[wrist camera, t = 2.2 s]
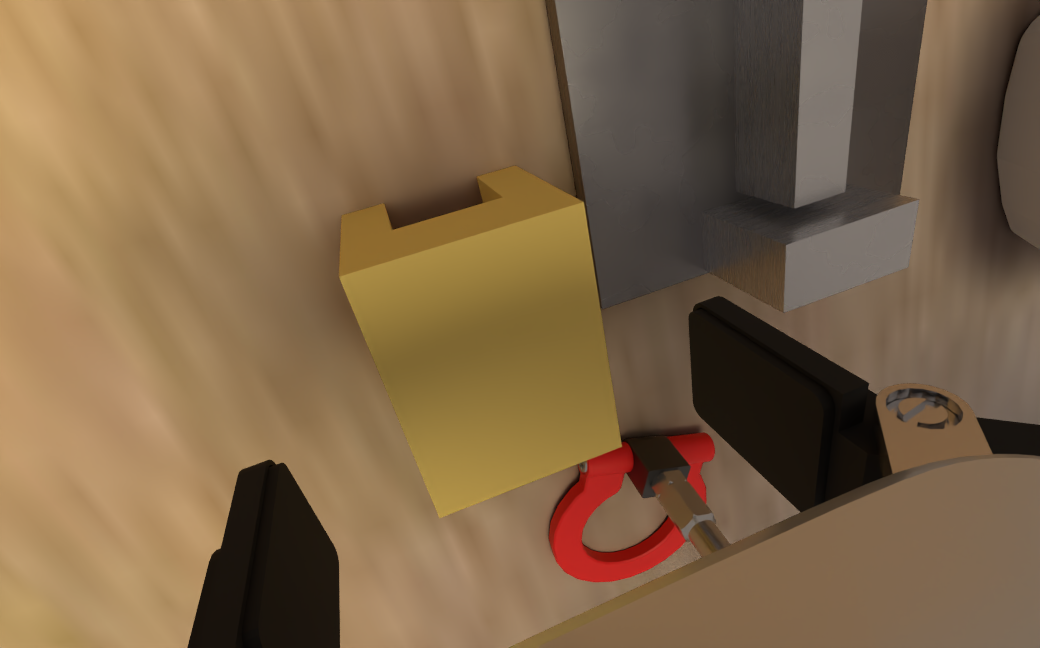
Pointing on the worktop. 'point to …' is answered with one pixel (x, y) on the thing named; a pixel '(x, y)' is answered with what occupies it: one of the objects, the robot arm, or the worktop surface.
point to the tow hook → (653, 472)
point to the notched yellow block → (486, 336)
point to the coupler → (740, 140)
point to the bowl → (1022, 140)
